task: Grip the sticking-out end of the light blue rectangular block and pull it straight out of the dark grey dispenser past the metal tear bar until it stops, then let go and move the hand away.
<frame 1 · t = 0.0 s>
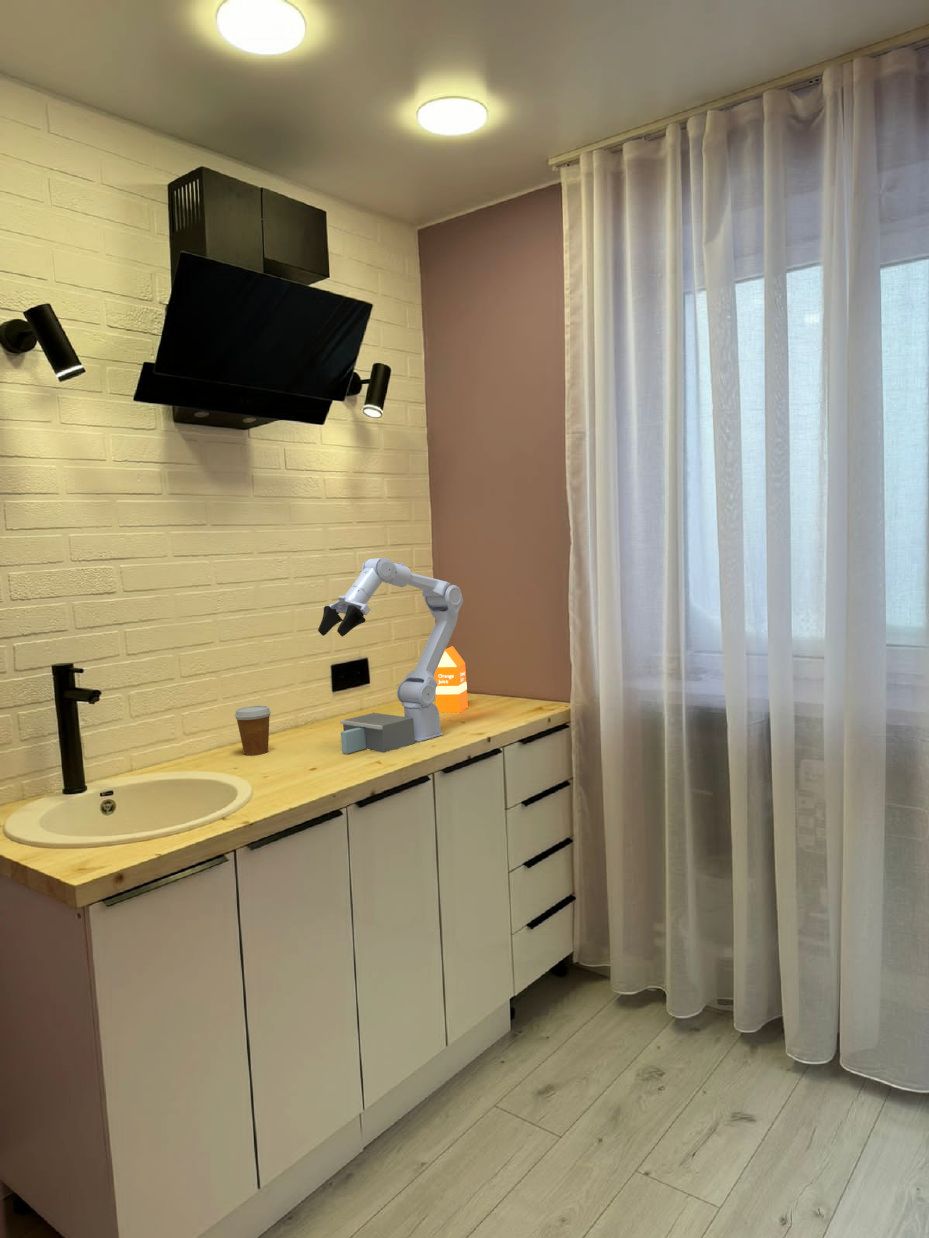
hand: (330, 633, 217), 32 cm above the table, tool tilted 50°, fingers open, 7 cm apart
disposable coffee cup: (256, 753, 235), on the table
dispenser: (379, 744, 235), on the table
light blue rectangular block: (364, 737, 231), point 3 cm above the table, slide at 0.0 cm
orange juice: (452, 710, 277), on the table
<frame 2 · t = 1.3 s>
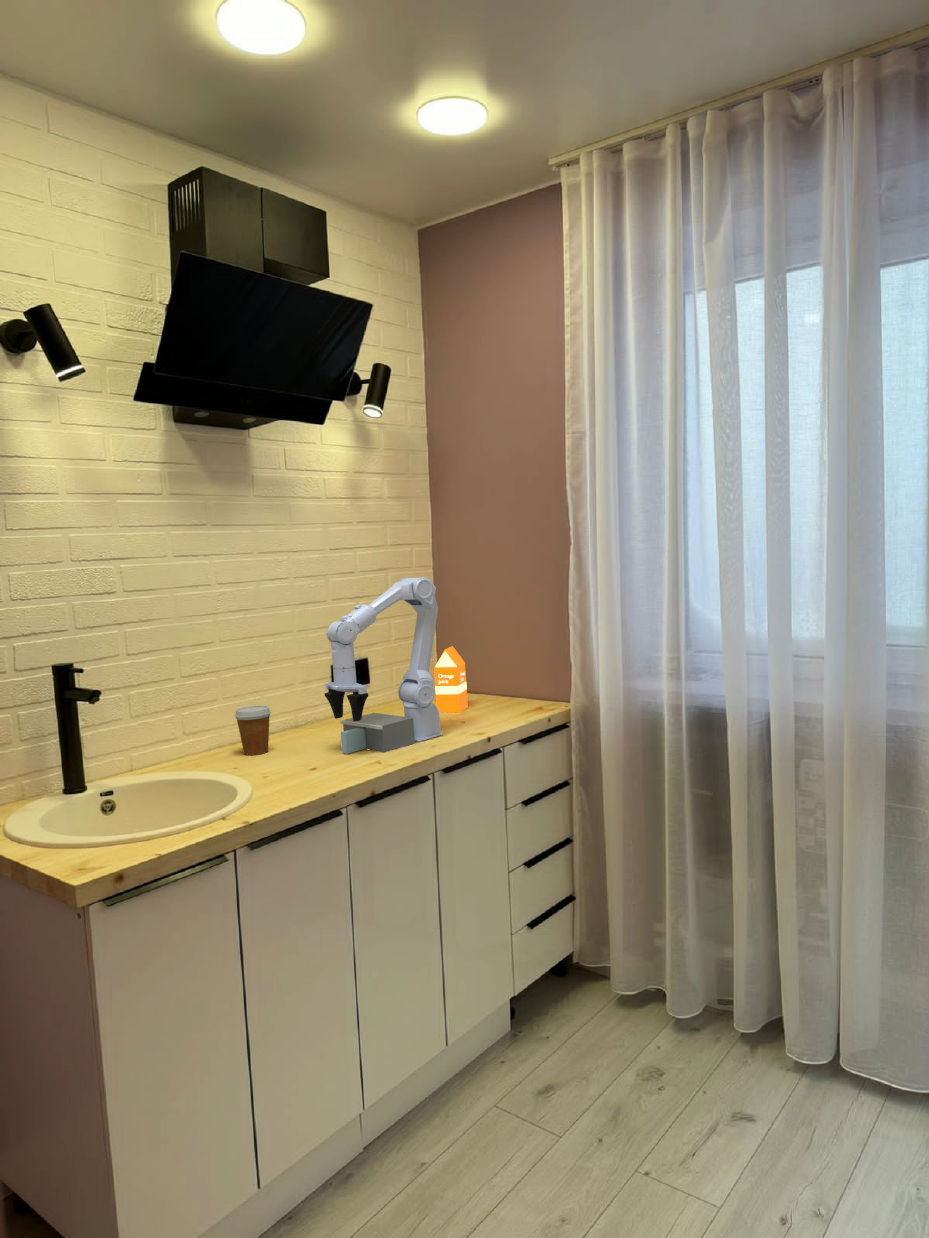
hand: (348, 719, 227), 9 cm above the table, tool pointing down, fingers open, 7 cm apart
nothing on the table moved.
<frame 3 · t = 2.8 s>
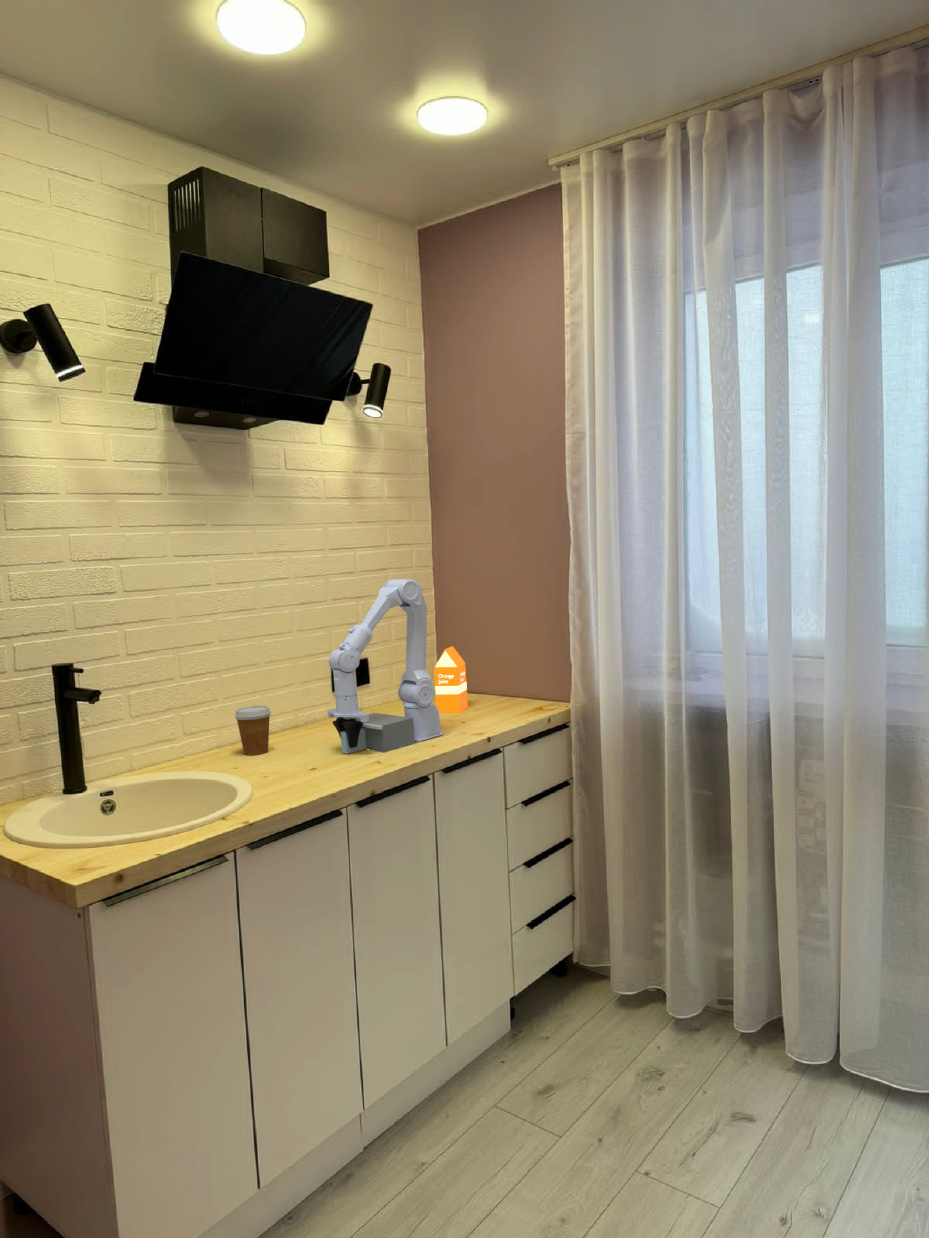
hand: (350, 746, 228), 2 cm above the table, tool pointing down, fingers closed on light blue rectangular block, 2 cm apart
light blue rectangular block: (364, 737, 231), point 3 cm above the table, slide at 0.0 cm, touching gripper
everything else where it was.
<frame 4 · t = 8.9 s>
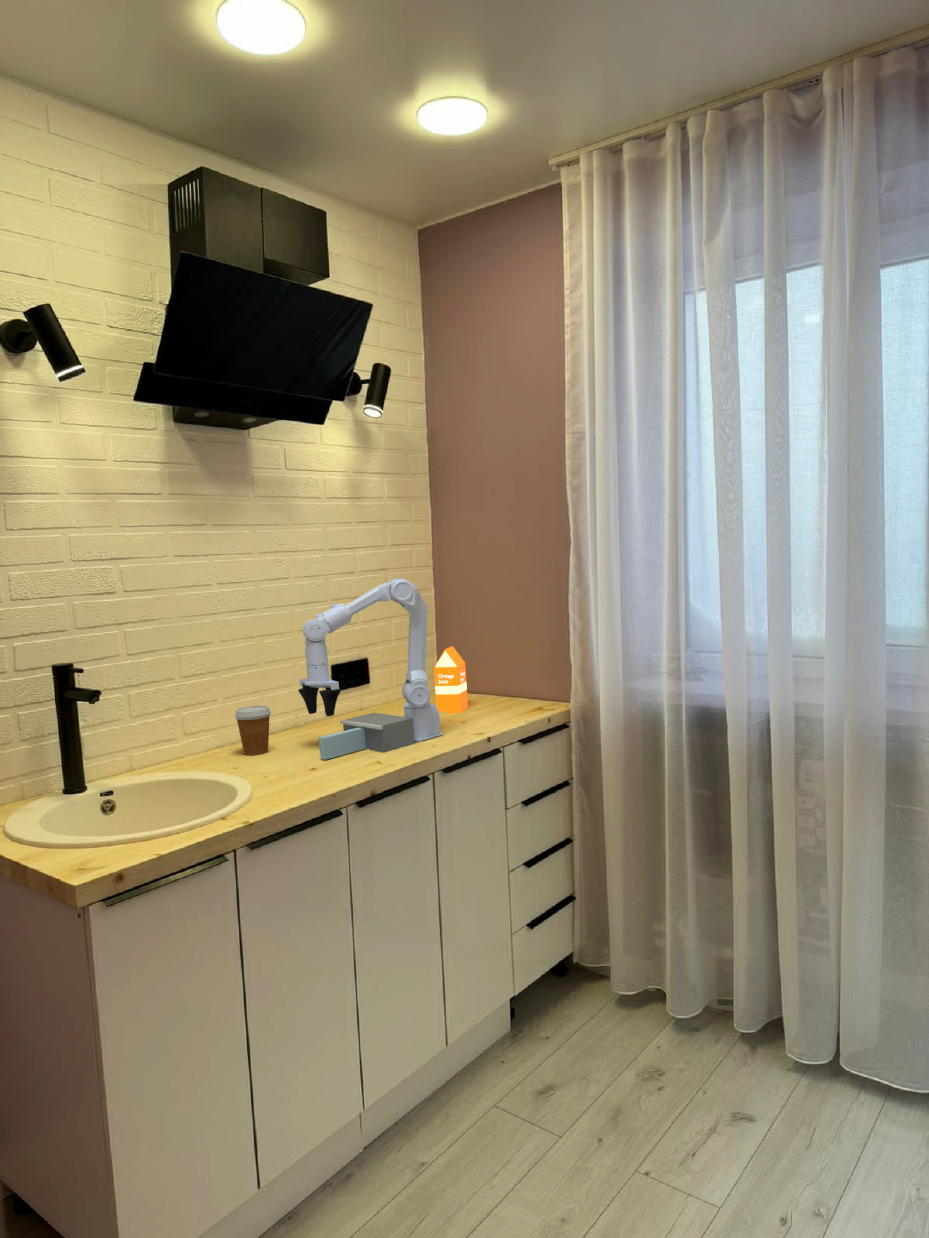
hand: (321, 714, 233), 9 cm above the table, tool pointing down, fingers open, 7 cm apart
light blue rectangular block: (343, 742, 226), point 3 cm above the table, slide at 7.0 cm
everything else where it was.
at the end: light blue rectangular block slide at 7.0 cm; the gripper is holding nothing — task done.
